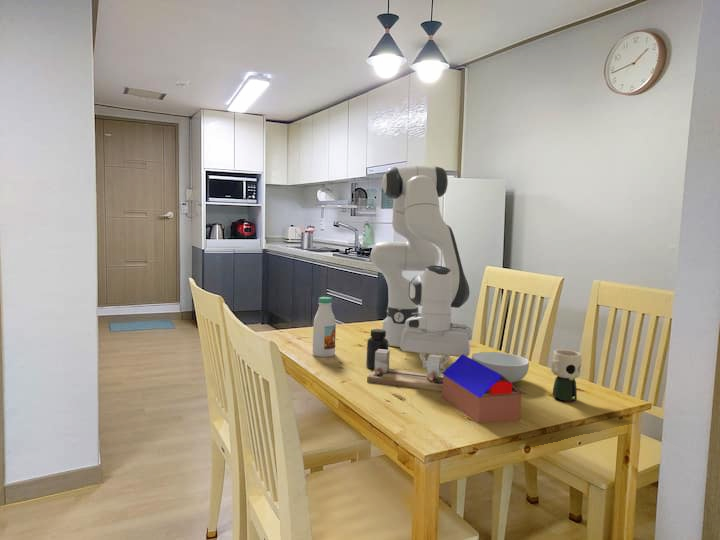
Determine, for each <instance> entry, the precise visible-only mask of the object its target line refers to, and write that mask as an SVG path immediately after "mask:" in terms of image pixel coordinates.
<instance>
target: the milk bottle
mask: <svg viewBox="0 0 720 540" xmlns="http://www.w3.org/2000/svg"><path fill="white" fill-rule="evenodd" d="M317 304H318V309H317V311H316V314H315V315H314V319H313V328H312V329H313V330H312V354H313V355H314V356H315V357H318V358H320V357H321V358H330V357H333V356H335V354H336V335H337V334H336V329H337V328H336V327H337V325H336V323H337V322H336V317H335V314H334V312H333V310H332V309H333V308H332V304H333V298H332V297H330V296H320V297H318V303H317Z"/></svg>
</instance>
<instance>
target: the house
mask: <svg viewBox="0 0 720 540" xmlns="http://www.w3.org/2000/svg"><path fill="white" fill-rule="evenodd" d="M471 358H472V357H469V356H465V355H463V354H462V355H461V356H460V357H457V359H456V360H455V361H454V362H453V363H451V364H450V365H449V366H448V367H447V368H445V370H443V372H441V375H443V391H442V396H441V397H442V398H444V399H445V400H446V401H447V402H449V403H450V404H452V405H453V406H454V407H456V408H457V409H458V410H460V411H461V412H462V413H463V414H465V415H466V416H468V417H469V418H470V419H472V420H473V421H474V422H476V423H477V424H479V425H480V424H489V423H499V421H501V422H508V421H509V420H512V421H520V419H521V418H520V417H521V406H522V405H521V404H522V395H523V392H521V391H520V390H519V388H517V387H516V386H514V384H513V383H510V382H509V381H508V380H507V379H506V378H505V377H504V376H502V375H501V374H499V373H497V372H495V371H493V370H491V369H489V368H487V367H486V366H484V365H482V364H480V363H478V362H476V361H474V360H472V359H471Z"/></svg>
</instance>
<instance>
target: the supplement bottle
mask: <svg viewBox="0 0 720 540" xmlns="http://www.w3.org/2000/svg"><path fill="white" fill-rule="evenodd" d="M385 337H386V331H385V330H382V328H373V329H371V331H370V337H369V338H368V339H367V342H366V364H365V365H366V367H367V368H368V369H371V370H375V352H376V351H377V350H378V349H384V350H389V345H388V340H387V339H386V338H385Z"/></svg>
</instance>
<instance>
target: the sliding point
mask: <svg viewBox="0 0 720 540" xmlns="http://www.w3.org/2000/svg"><path fill="white" fill-rule="evenodd" d="M442 357H443V355H437V354H429V355H428V356H427V359H426V361H427V368H426V373H427V378H429V381H434V379H439V378H440V376H441V375H442V370H440V363H442Z"/></svg>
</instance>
